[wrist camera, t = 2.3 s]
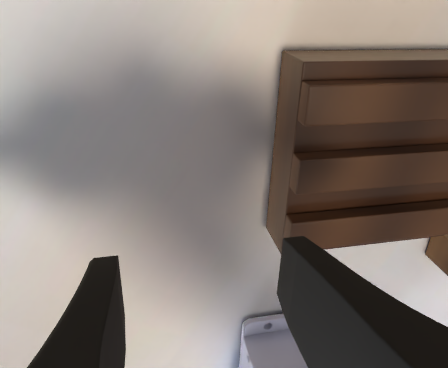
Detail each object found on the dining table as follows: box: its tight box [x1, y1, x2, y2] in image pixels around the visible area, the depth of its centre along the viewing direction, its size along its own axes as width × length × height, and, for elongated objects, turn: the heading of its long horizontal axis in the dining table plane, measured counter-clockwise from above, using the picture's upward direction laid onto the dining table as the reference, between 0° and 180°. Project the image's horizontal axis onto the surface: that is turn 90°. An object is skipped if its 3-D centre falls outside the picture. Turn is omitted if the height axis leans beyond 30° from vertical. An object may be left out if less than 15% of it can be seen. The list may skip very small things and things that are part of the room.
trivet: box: [266, 49, 448, 254], centre depth 19 cm, size 9×9×3 cm
